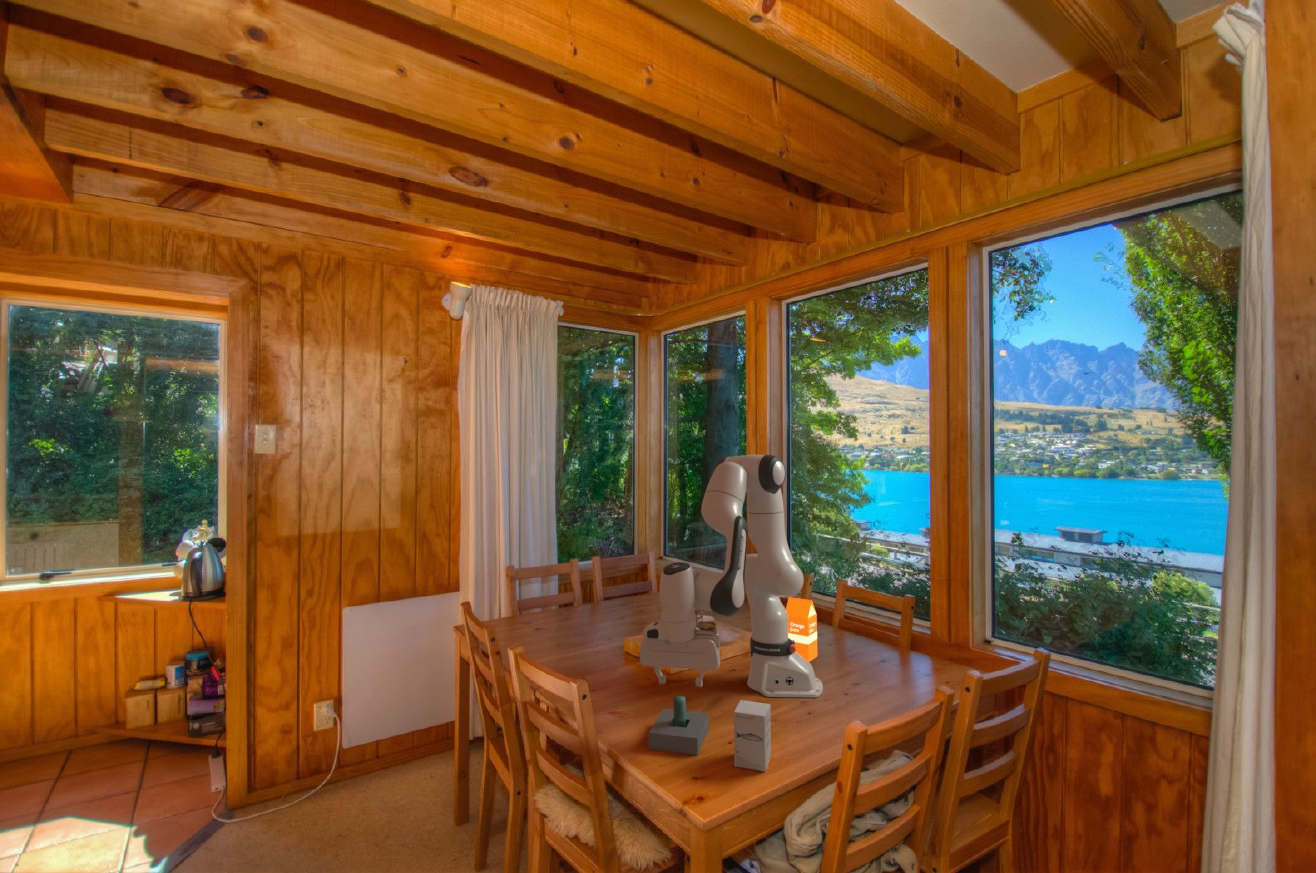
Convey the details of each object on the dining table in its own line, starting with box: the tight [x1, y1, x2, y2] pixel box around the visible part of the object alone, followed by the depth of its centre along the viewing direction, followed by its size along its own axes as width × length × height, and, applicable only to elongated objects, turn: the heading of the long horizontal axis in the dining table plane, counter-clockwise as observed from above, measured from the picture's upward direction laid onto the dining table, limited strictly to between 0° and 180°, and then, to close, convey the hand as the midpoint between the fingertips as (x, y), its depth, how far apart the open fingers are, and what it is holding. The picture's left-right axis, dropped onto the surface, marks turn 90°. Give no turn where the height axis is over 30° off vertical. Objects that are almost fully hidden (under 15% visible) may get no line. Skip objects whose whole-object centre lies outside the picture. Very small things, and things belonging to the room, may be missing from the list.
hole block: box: [648, 708, 710, 756], centre depth 152 cm, size 12×14×4 cm
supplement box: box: [733, 699, 772, 773], centre depth 140 cm, size 7×7×13 cm
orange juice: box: [785, 597, 818, 663], centre depth 210 cm, size 8×9×20 cm
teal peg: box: [673, 695, 687, 728], centre depth 152 cm, size 3×3×10 cm
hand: (680, 684), depth 152 cm, fingers open, 8 cm apart
